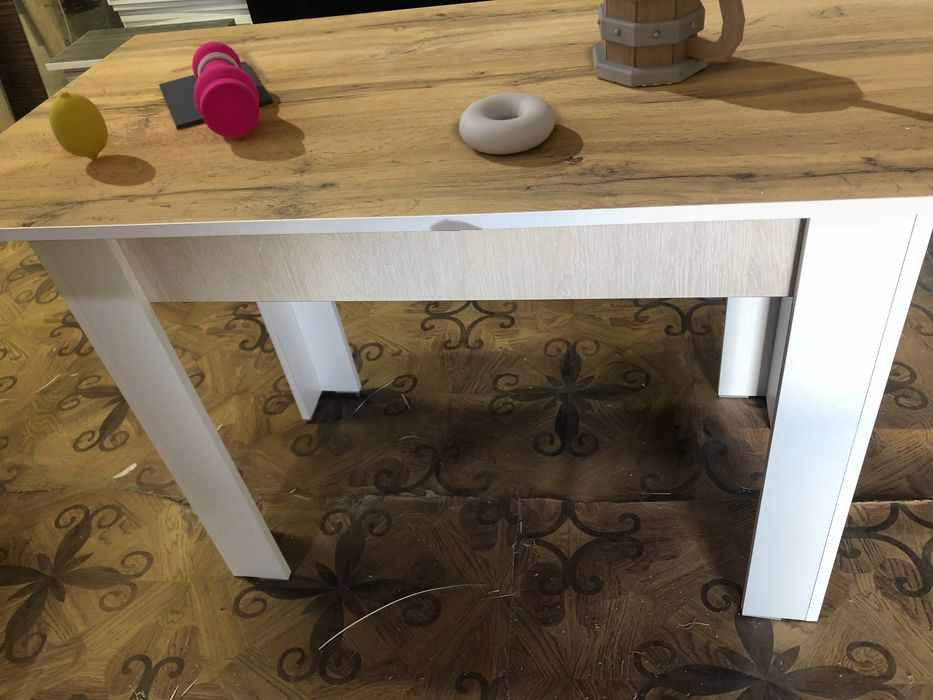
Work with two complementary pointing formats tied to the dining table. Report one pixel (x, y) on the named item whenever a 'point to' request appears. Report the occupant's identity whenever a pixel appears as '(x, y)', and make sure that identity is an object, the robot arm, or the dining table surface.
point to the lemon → (78, 125)
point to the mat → (182, 98)
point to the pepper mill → (224, 91)
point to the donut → (506, 123)
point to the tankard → (661, 40)
